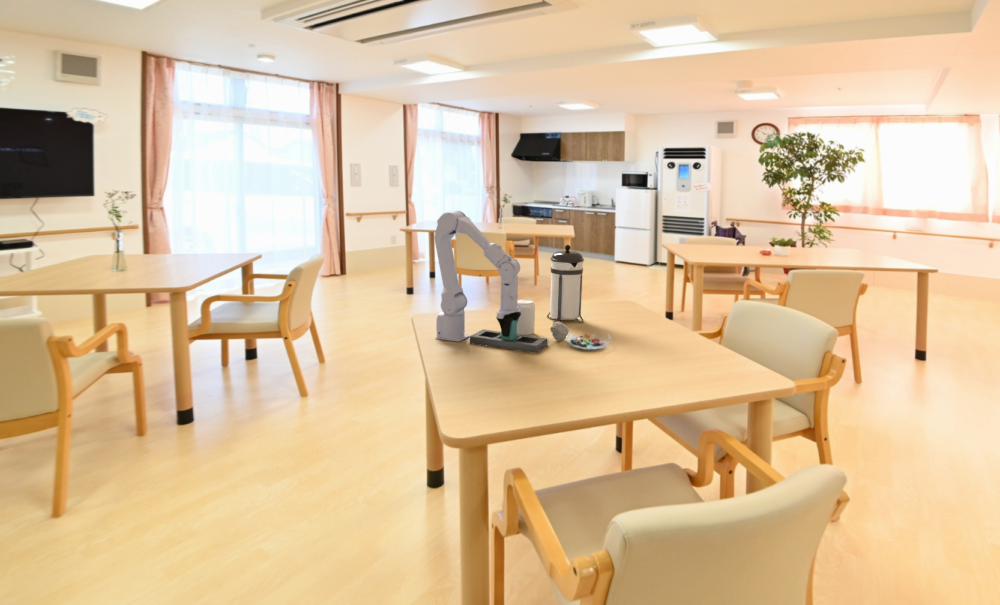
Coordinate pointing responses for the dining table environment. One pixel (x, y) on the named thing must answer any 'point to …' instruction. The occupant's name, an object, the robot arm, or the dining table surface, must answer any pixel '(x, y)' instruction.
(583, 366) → the dining table surface
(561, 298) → the coffee press
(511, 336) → the square peg
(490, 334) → the rail
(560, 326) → the grey lumpy piece
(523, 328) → the beverage can
